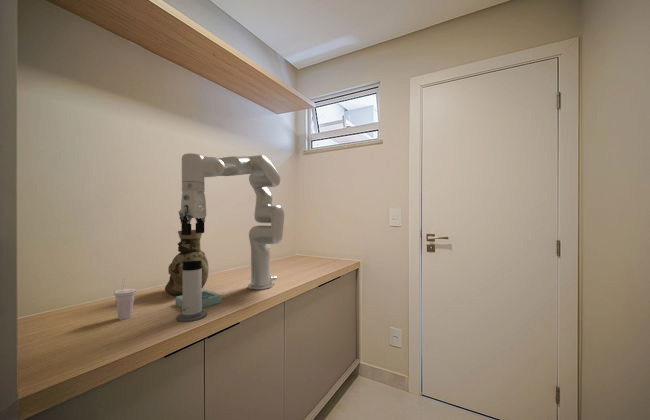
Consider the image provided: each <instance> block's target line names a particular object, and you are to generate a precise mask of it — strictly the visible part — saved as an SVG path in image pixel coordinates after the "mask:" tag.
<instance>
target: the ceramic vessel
mask: <svg viewBox="0 0 650 420" xmlns="http://www.w3.org/2000/svg"><path fill="white" fill-rule="evenodd" d="M177 234H178V237H179V239H180V241H179V242H178V243H177V246H178V247H177V250H178V252H179V253H178V254H176V255H175V256H174V258H173V259H172V261H171V263H170V264H169V265H168V271H167V273H168V274H169V275H170V276H169V280H168V282H167V283H166V285H165V286H164V291H165V292H166V293H167V294H168V295H169V294H170V295H172V296H175V297H177V296H182V286H183V262H189V261H202V265H201V266H202V269H201V270H202V289H203V288H204V286H205V284H206V283H207V281H208V278H209V270H210V268H209V262H208V261H209V260H208V258H207V257H206V254H205V252H204V251H203V250H201V238H202V235H203V233H196V229H191V235H182V231H181V230H178V231H177Z"/></svg>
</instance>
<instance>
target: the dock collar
mask: <svg viewBox="0 0 650 420" xmlns="http://www.w3.org/2000/svg"><path fill="white" fill-rule="evenodd" d="M221 303H222V294H220V293H219V294H218V293H216V292H213V291H210V290H209V289H206V290H202V308H206V307H209V306H213V305H216V304H221ZM175 304H176V305H177V306H179V307H181V308H182V295H181V296H175Z"/></svg>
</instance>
